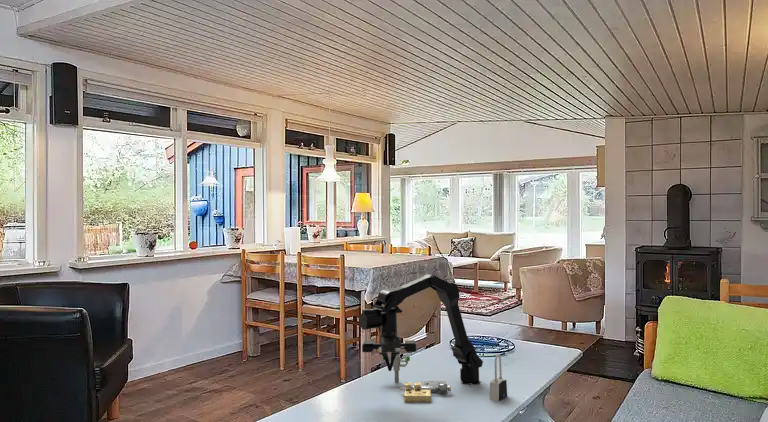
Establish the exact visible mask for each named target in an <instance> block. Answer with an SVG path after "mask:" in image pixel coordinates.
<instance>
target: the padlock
mask: <svg viewBox="0 0 768 422" xmlns="http://www.w3.org/2000/svg"><path fill="white" fill-rule="evenodd" d="M498 363H499V364H498ZM497 364H498V365H499V368H498V365H497ZM498 369H499V377H498V373H497V372H498V371H497V370H498ZM502 372H503V371H502V356H501V355H500V354H496V355H495V358H494V378H493V379H492V380H491V381H489V400H490V401H495V402H501V401H503V400H505V399H506V398H507V397H508V383H507V381H508V380H507V379H504V378H503V375H502V374H503V373H502Z"/></svg>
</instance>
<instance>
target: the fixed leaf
mask: <svg viewBox="0 0 768 422" xmlns="http://www.w3.org/2000/svg"><path fill="white" fill-rule="evenodd" d="M405 389H411V390H414V389H421V390H430V393H439V394H440V393H441V394H443V393H445V394H447V393H448V392H451V391H452V386H451V385H448V384H447V380H421V387H414V386H411V387H405V386H400V390H401V391H405Z"/></svg>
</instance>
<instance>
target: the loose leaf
mask: <svg viewBox="0 0 768 422" xmlns="http://www.w3.org/2000/svg"><path fill="white" fill-rule="evenodd" d="M404 387H412V381H410V382H409V381H407V382H404ZM413 387H422V382H420V381H417V382H416V381H415V382H414V383H413ZM431 393H432V392H430V390H421V389H414V390H411V389H405V390H404V395H403V398H404V399H403V401H404V402H405V403H407V402H408V403H409V402H410V403H411V402H412V403H414V402H419V403H420V402H421V403H422V402H426V403H427V402H429V403H430V402H431V401H432V399H431V398H432V397H431Z"/></svg>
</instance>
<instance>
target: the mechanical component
mask: <svg viewBox="0 0 768 422" xmlns="http://www.w3.org/2000/svg"><path fill="white" fill-rule="evenodd" d="M410 358H411V357H410V356H408V355H406V356H405V358H404V359H402V357H401V355H400V354H397V355H396V357H395V360H394V363H393V366H392V371H394V383H396V384H397V383H399V382H400V377H399V376H400V375H399V374H400V373H399V372H400V370H401V369H400V367H402V368H403V367H404V368H405V367H407V366H408V364H409V362H410V361H411V359H410ZM389 360H391V354H389ZM382 361H384V365H385V366H386V367H387V364H386V362H385V359H384V357H383V356H382Z"/></svg>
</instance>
